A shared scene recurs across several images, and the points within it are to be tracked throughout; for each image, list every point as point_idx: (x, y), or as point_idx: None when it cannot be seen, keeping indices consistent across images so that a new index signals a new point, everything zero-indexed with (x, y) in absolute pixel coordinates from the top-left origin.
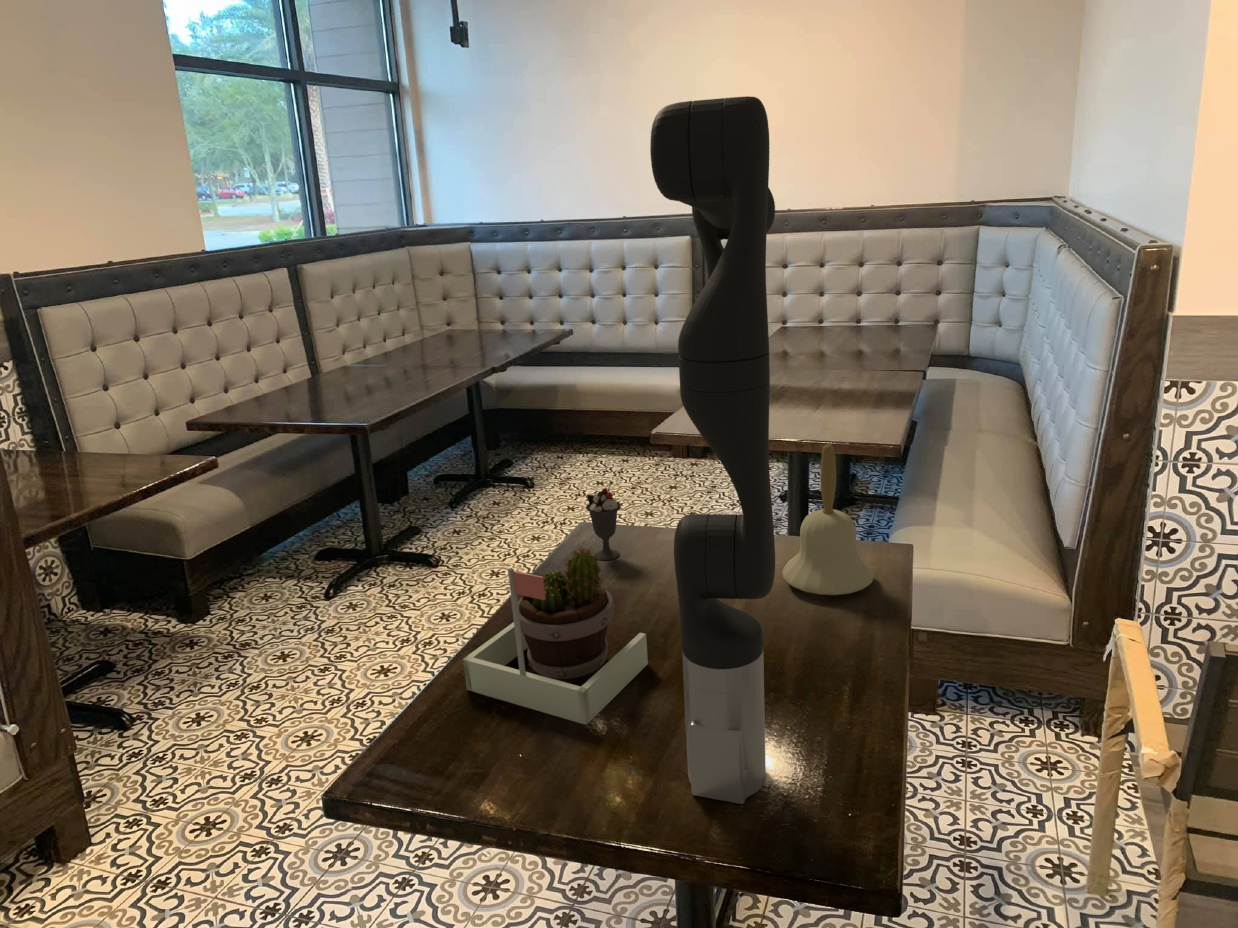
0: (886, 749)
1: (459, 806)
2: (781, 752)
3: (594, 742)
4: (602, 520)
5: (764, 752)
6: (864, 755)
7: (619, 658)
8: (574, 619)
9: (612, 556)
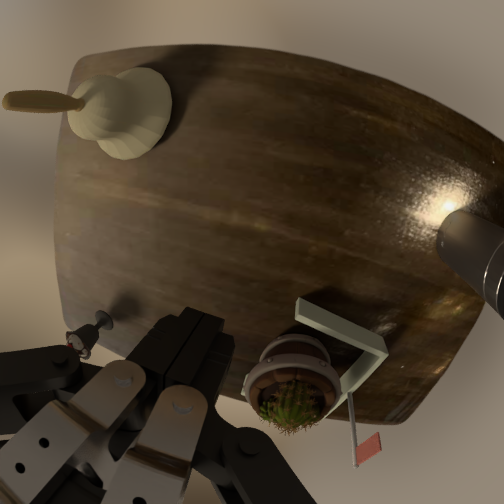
0: (439, 109)
1: (433, 381)
2: (441, 192)
3: (403, 329)
4: (91, 343)
5: (480, 217)
6: (446, 128)
7: (343, 334)
8: (334, 390)
9: (106, 317)
